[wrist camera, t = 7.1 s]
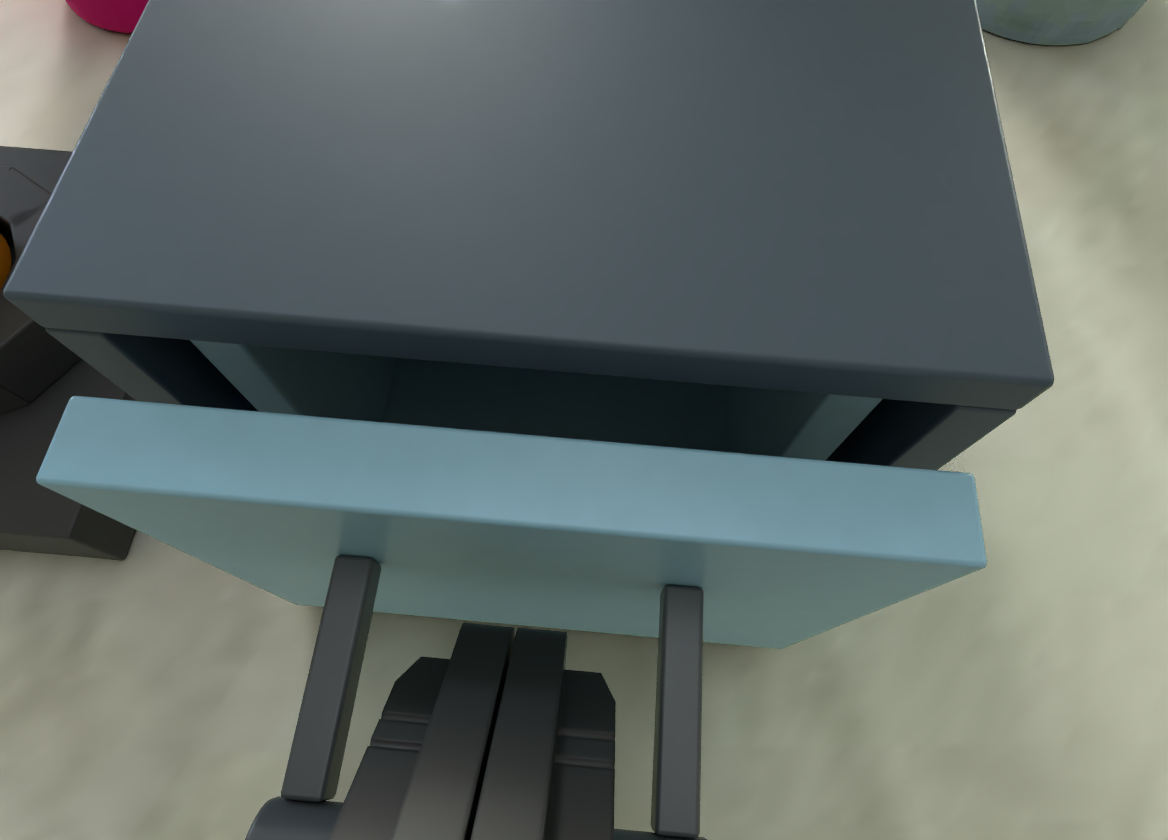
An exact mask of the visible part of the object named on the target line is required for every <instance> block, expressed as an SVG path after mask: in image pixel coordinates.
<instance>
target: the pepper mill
mask: <svg viewBox="0 0 1168 840" xmlns="http://www.w3.org/2000/svg"><path fill="white" fill-rule="evenodd" d="M148 1H149V0H66V2H67V3H68V5H69V6H70V8H71V9H72V10H73V11H74V12H75V13H76V14H77V15H78V16H80V17H81V18H83V19H84V20H85V21H87V22H88V23H90V24H93V25H95V26H98V27H100V28H103V29H106V30H111V31H116V32H121V33H133V31H134V29H135V27H136V25H137V23H138V21H139V19H140V17H141V15H142V13H143V11H144V9H145V7H146V5H147V3H148Z"/></svg>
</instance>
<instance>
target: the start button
mask: <svg viewBox="0 0 1168 840" xmlns="http://www.w3.org/2000/svg"><path fill="white" fill-rule="evenodd" d="M11 263H12V260H11V252H10V249H9V246H8V244H7V242H6V240H5V238H4V237H3V236H2V235H1V233H0V290H1V288H2V286H3V284H4V282H5V280H6V278H7V276H8V274H9V272H10V270H11Z"/></svg>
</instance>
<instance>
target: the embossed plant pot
mask: <svg viewBox="0 0 1168 840" xmlns="http://www.w3.org/2000/svg"><path fill="white" fill-rule="evenodd" d="M1146 1H1147V0H976V4H977V9H978V13H979V18H980V23H981V28H982V29H983V30H986V31H988V32H991V33H993V34H996V35H999V36H1002V37H1005V38H1008V39H1012V40H1017V41H1021V42H1026V43H1032V44H1041V45H1071V44H1082V43H1088V42H1091V41H1093V40H1096V39H1098V38H1101V37H1103V36H1106V35H1108V34H1110V33H1112V32H1113V31H1114V30H1115V29H1120V28H1121V27H1122V26H1123V25H1124V24H1125V23H1126V22H1127V21H1128V20H1129V19H1130V18H1131V17H1132V16H1133V15H1134V14H1135V13H1136V12H1137V11H1138V10H1139V9H1140V7H1141V6H1142V5H1143V4H1144V3H1145V2H1146Z"/></svg>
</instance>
